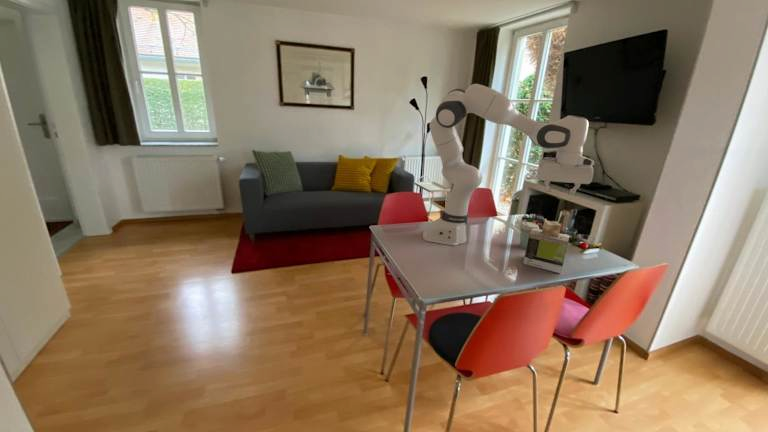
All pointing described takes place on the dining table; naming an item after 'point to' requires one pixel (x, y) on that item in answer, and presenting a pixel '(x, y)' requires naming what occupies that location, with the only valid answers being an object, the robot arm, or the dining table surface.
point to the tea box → (546, 250)
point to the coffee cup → (526, 233)
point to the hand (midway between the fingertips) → (559, 192)
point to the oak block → (551, 228)
